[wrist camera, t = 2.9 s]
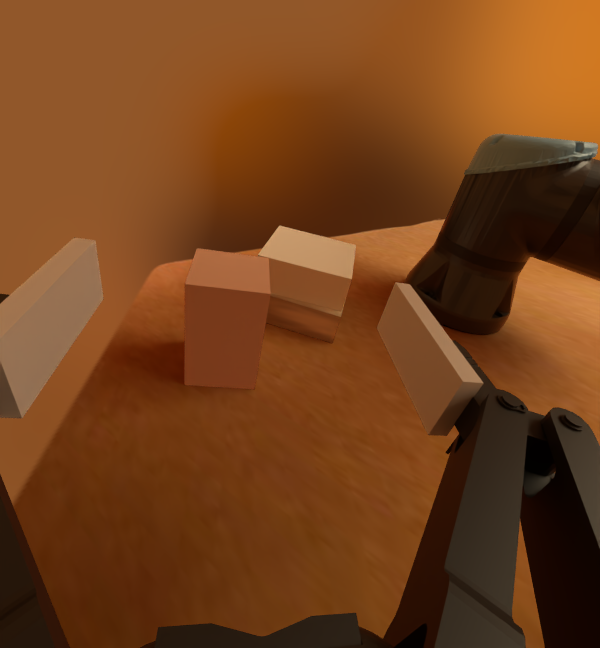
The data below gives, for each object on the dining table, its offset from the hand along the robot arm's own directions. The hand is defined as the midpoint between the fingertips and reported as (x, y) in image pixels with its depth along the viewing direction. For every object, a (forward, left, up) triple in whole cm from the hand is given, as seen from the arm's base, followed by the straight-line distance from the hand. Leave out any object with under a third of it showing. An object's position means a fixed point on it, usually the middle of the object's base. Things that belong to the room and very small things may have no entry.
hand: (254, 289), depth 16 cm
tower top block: (-24, -1, -11) cm, 26 cm away
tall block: (-10, -5, -15) cm, 18 cm away
